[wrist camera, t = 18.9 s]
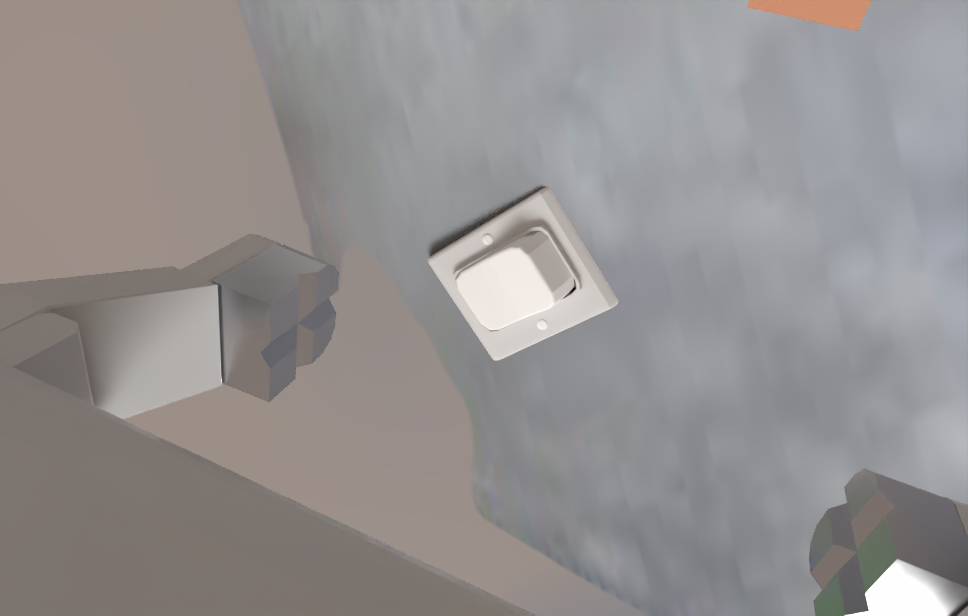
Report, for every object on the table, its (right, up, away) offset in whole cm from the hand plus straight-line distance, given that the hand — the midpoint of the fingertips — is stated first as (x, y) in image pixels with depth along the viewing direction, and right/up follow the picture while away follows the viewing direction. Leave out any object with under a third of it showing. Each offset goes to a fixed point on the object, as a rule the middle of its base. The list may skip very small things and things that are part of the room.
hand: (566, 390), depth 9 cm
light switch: (+2, +4, +42) cm, 42 cm away
